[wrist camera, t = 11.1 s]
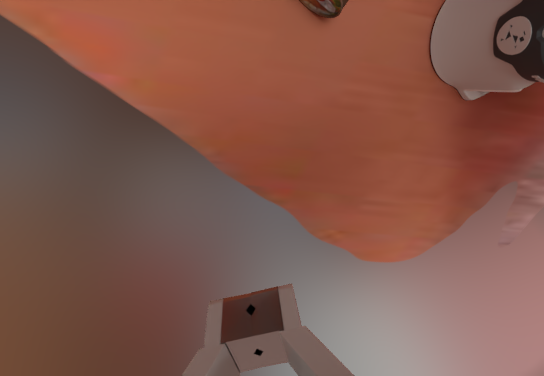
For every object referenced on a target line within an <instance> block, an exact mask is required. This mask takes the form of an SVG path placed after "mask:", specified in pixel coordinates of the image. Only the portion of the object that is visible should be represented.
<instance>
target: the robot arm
mask: <svg viewBox="0 0 544 376" xmlns="http://www.w3.org/2000/svg"><path fill="white" fill-rule="evenodd" d="M431 59H432V63H433V66H434V69H435V71H436V73H437V74H438V76H439V77H440V78H441V79H442V80H443V81H444V82H446V83H447V84H449V85H451V86H453V87H455V88H456V89H457V90H458V92H459V93H460V95H461V96H462V98H463V99H464V100H475V99H477V98H479V97H481V96H483V95H485V94H487V93H489V92H519V91H521V90H522V89H523V88H526V87H528V86H530V85H532V84H533V83H535V82H543V83H544V0H446V1H445V3H444V4H443V6H442V8H441V10H440V11H439V14H438V16H437V18H436V21H435V24H434V27H433V31H432V36H431ZM207 313H208V314H207V321H206V331H205V339H204V348H201V349H199V350H198V352H197V353H196V355H195V356H194V358H193V359H192V361H191V362H190V364H189V365H188V367H187V368H186V370H185V371H184V373H183V374H182V376H240V372H244V371H249V370H253V369H256V368H260V367H264V366H270V365H275V364H281V363H287V362H289V364H290V365H291V367H292V368H293V369H294V370H295V372H296V373H297V374H298V376H354V375H353V374H352V373H351V372H350V371H349V370H348V369H347V368H346V367H345V366H344V365H343V364H342V363H341V362H340V361H339V360H338V359H337V358H336V357H335V356H334V355H333V354H332V353H331V352H330V351H329V350H328V349H327V348H326V347H325V345H324V344H323V343H322V342H320V340H319V339H318V338H317V337H315V335H314V334H313V333H312V332H311V331H310V330H309V329H308V328H307V327H306V326H301V321H300V316H299V312H298V308H297V303H296V299H295V295H294V290H293V286H292V284H288V285H283V286H279V287H274V288H269V289H265V290H260V291H256V292H252V293H250V294H244V295H239V296H234V297H229V298H223V299H219V300H214V301H210V303H209V305H208V312H207Z"/></svg>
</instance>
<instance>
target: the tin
mask: <svg viewBox="0 0 544 376" xmlns="http://www.w3.org/2000/svg"><path fill="white" fill-rule="evenodd" d="M300 1H301V2H302V3H303V4H304V5H305V6H306V7H307V8H309V9H310V10H311V11H313V12H314V13H316V14H318V15H320V16H323V17H327V18H334V17H337V16H338V15H339V14H340V13H341V11H342V9H343V7H344V6H345V5H346V3H347V2H348V0H300Z"/></svg>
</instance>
